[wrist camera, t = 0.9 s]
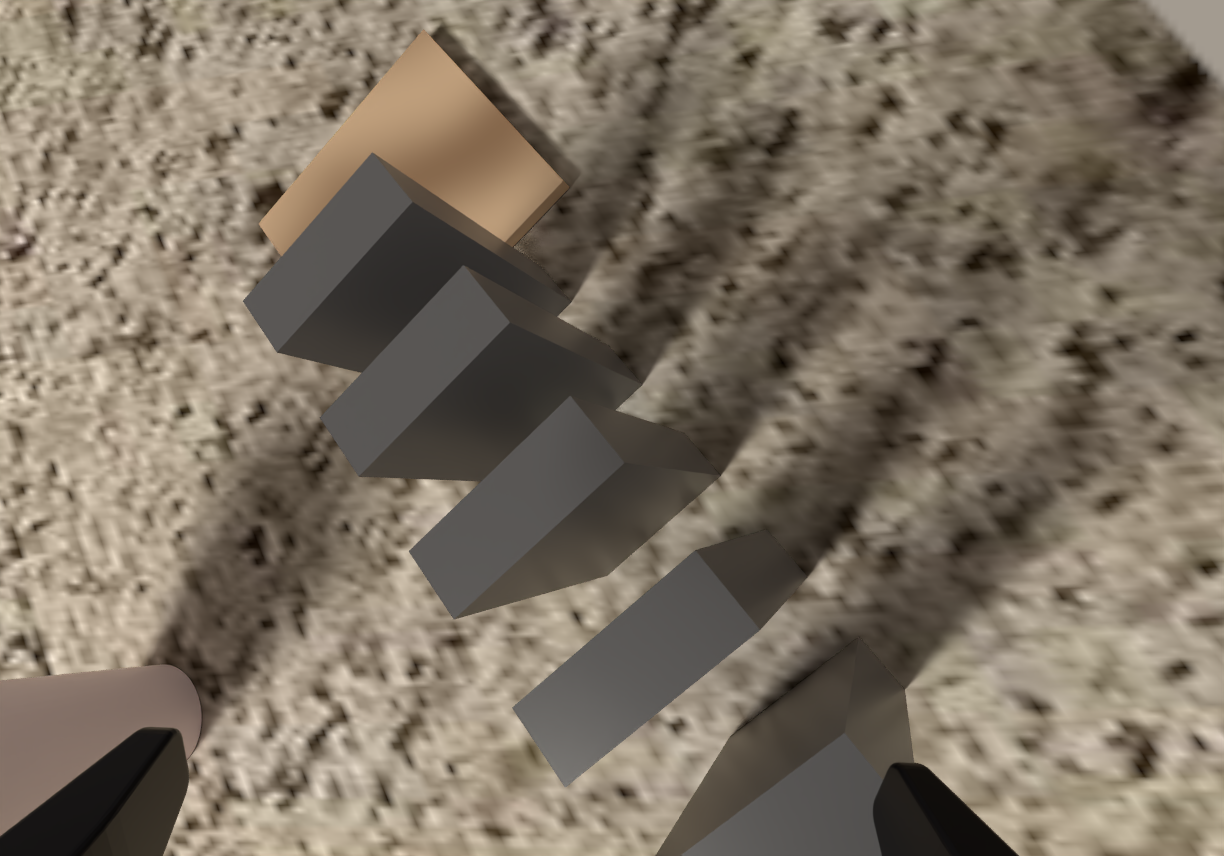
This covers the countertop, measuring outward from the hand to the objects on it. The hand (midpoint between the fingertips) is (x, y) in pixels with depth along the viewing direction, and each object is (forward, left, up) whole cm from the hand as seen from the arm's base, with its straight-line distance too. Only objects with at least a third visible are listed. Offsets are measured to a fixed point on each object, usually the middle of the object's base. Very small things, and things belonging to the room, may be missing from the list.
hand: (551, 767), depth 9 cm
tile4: (+7, 0, -11) cm, 13 cm away
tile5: (+11, 0, -11) cm, 16 cm away
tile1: (-3, 0, -11) cm, 11 cm away
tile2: (0, 0, -11) cm, 11 cm away
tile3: (+4, 0, -11) cm, 12 cm away
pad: (+17, 0, -11) cm, 20 cm away
